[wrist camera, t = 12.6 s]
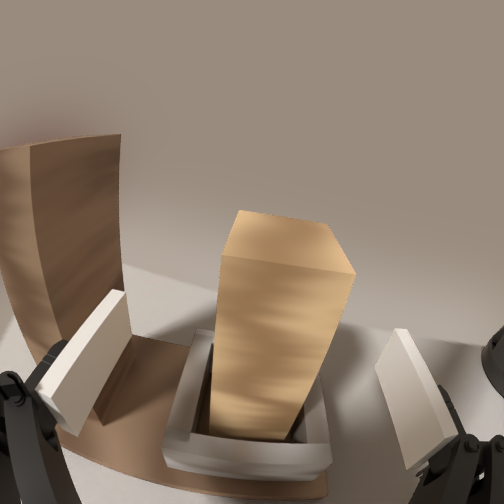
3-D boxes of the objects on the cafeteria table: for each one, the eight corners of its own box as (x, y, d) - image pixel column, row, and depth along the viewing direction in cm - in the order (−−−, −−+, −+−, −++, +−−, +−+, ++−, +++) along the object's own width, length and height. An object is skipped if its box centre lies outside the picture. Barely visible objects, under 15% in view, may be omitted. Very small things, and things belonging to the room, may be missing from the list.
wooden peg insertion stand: (308, 369, 26) (370, 164, 17) (322, 498, 13) (524, 234, 5) (109, 336, 25) (91, 134, 17) (49, 439, 12) (-64, 167, 4)
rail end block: (277, 389, 22) (325, 222, 15) (277, 451, 16) (356, 274, 10) (220, 381, 22) (239, 208, 15) (208, 443, 16) (221, 254, 10)
